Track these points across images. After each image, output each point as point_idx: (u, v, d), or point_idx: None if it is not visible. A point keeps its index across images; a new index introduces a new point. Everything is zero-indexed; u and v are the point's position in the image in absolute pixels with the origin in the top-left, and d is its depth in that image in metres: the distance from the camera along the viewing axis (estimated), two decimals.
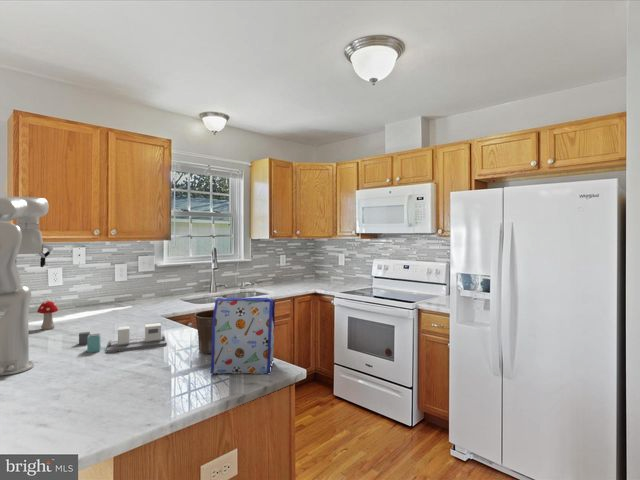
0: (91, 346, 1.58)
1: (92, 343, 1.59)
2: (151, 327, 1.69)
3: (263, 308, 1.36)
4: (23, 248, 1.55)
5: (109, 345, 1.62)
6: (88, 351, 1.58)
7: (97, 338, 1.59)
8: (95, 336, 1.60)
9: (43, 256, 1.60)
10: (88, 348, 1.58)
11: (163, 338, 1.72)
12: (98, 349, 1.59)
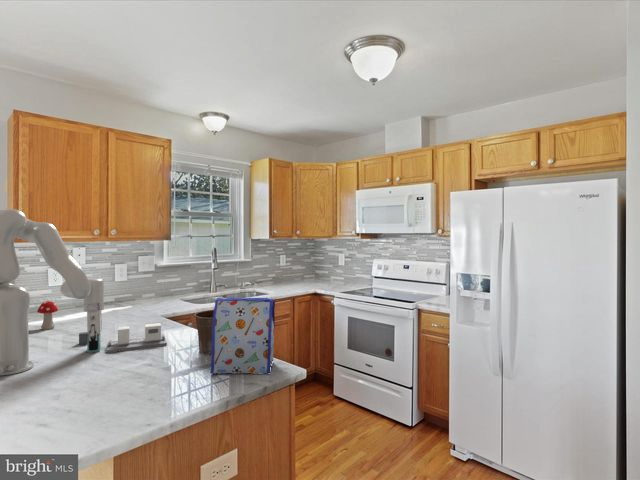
0: None
1: None
2: (151, 327, 1.69)
3: (263, 308, 1.36)
4: (101, 326, 1.61)
5: (109, 345, 1.62)
6: (88, 351, 1.58)
7: (97, 338, 1.59)
8: None
9: None
10: (88, 348, 1.58)
11: (163, 338, 1.72)
12: (98, 349, 1.60)
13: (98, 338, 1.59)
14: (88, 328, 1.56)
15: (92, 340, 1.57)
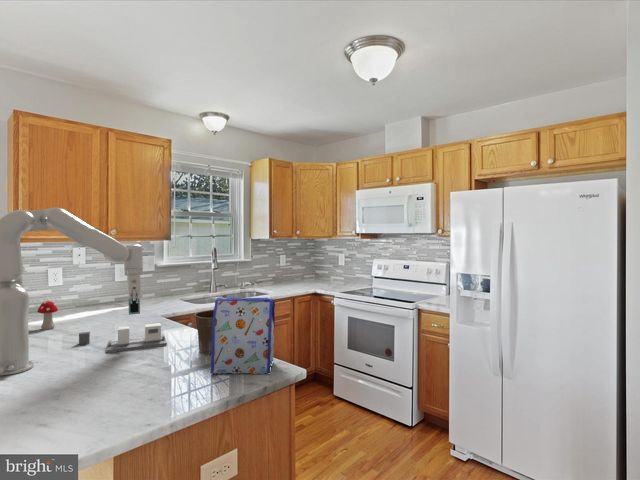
0: None
1: None
2: (151, 327, 1.69)
3: (263, 308, 1.36)
4: None
5: (109, 345, 1.62)
6: (129, 313, 1.65)
7: None
8: None
9: None
10: (129, 310, 1.65)
11: (163, 338, 1.72)
12: (138, 311, 1.67)
13: (138, 301, 1.67)
14: (130, 291, 1.63)
15: (133, 302, 1.64)
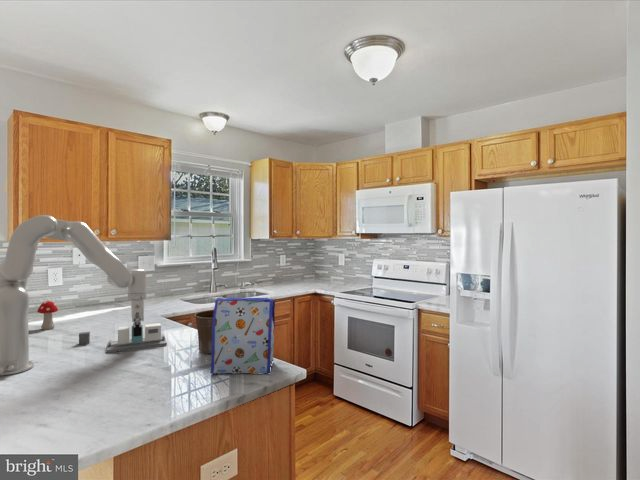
0: (135, 336, 1.66)
1: None
2: (151, 327, 1.69)
3: (263, 308, 1.36)
4: None
5: (109, 345, 1.62)
6: (132, 341, 1.65)
7: None
8: None
9: None
10: (132, 338, 1.65)
11: (163, 338, 1.72)
12: (141, 339, 1.67)
13: (141, 329, 1.67)
14: (133, 316, 1.64)
15: (136, 326, 1.63)
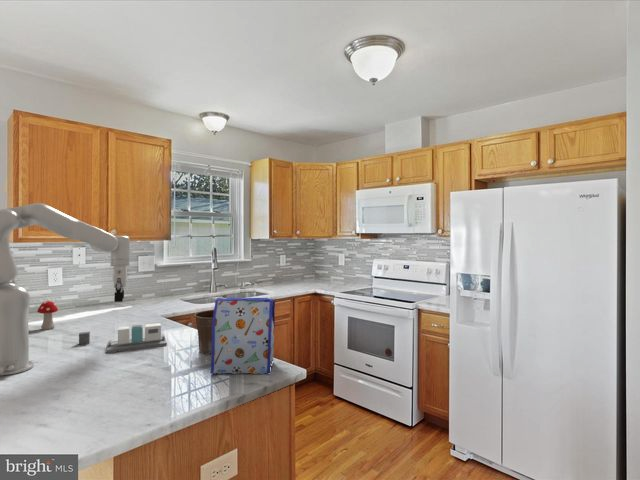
0: (135, 336, 1.66)
1: (136, 333, 1.66)
2: (151, 327, 1.69)
3: (263, 308, 1.36)
4: (126, 282, 1.69)
5: (109, 345, 1.62)
6: (132, 341, 1.65)
7: (140, 329, 1.67)
8: (138, 327, 1.67)
9: (123, 288, 1.74)
10: (132, 338, 1.65)
11: (163, 338, 1.72)
12: (141, 339, 1.67)
13: (141, 329, 1.67)
14: (114, 281, 1.63)
15: (117, 291, 1.63)
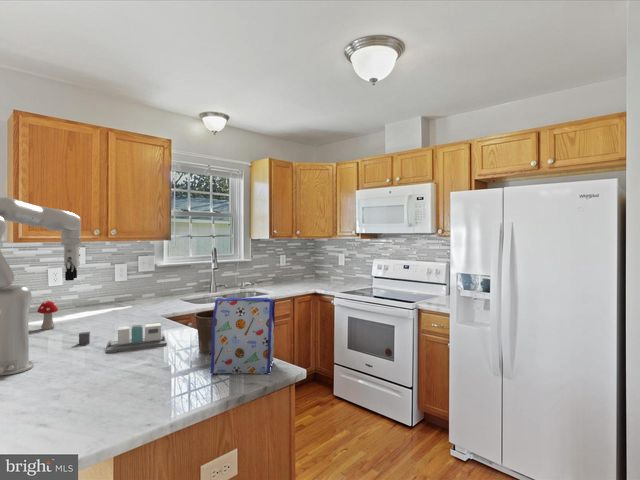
0: (135, 336, 1.66)
1: (136, 333, 1.66)
2: (151, 327, 1.69)
3: (263, 308, 1.36)
4: (78, 261, 1.69)
5: (109, 345, 1.62)
6: (132, 341, 1.65)
7: (140, 329, 1.67)
8: (138, 327, 1.67)
9: (76, 268, 1.74)
10: (132, 338, 1.65)
11: (163, 338, 1.72)
12: (141, 339, 1.67)
13: (141, 329, 1.67)
14: (65, 260, 1.64)
15: (68, 270, 1.63)
